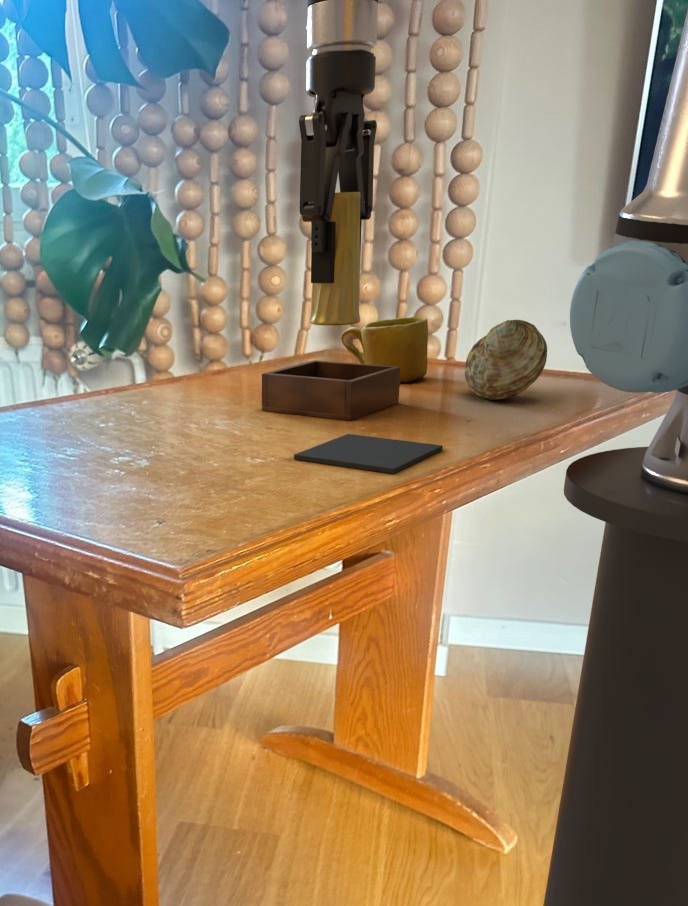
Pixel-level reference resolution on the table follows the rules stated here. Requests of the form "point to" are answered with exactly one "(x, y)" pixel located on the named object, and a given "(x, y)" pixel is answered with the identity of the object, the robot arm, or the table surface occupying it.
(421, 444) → the mat
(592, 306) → the robot arm
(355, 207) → the vase
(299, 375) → the bin
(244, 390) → the table surface
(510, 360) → the seashell
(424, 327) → the mug
